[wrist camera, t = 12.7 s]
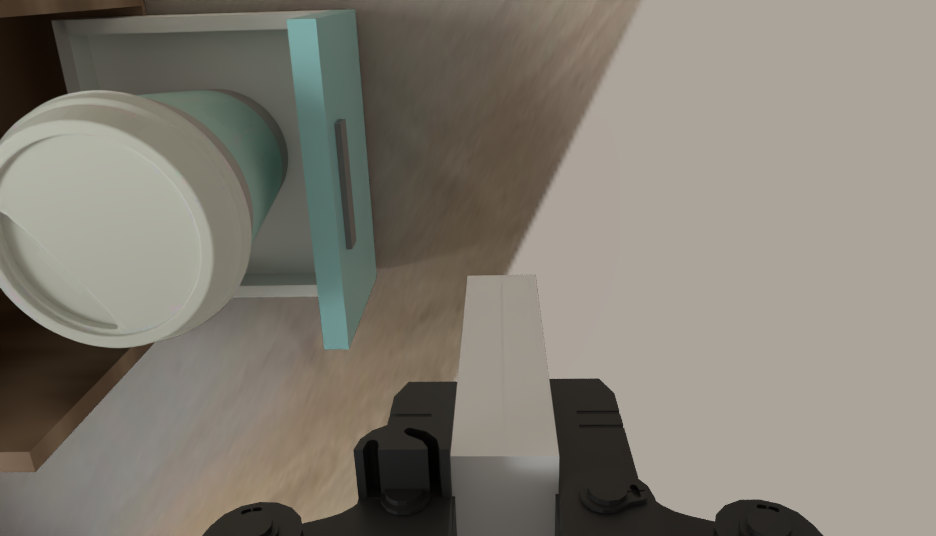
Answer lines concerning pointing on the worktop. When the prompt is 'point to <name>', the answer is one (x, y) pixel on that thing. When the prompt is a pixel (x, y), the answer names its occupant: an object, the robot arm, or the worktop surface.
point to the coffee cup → (134, 209)
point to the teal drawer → (297, 114)
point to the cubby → (3, 323)
